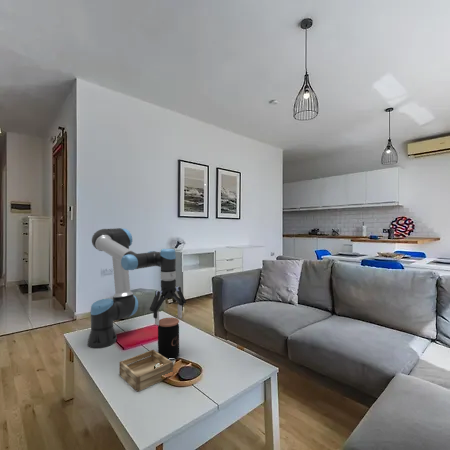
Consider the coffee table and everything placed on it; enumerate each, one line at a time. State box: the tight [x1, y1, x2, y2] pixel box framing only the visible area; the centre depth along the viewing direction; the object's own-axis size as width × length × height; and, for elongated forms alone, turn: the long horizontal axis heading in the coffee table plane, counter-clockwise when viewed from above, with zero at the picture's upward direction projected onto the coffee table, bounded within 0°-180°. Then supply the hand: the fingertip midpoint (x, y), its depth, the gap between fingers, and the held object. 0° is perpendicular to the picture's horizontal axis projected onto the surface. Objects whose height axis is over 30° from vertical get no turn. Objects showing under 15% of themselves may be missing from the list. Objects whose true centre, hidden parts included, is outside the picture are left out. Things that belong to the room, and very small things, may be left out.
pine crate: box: [118, 349, 174, 392], centre depth 125 cm, size 17×17×6 cm
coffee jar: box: [157, 317, 180, 359], centre depth 142 cm, size 11×11×18 cm
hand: (168, 320), depth 142 cm, fingers open, 13 cm apart
